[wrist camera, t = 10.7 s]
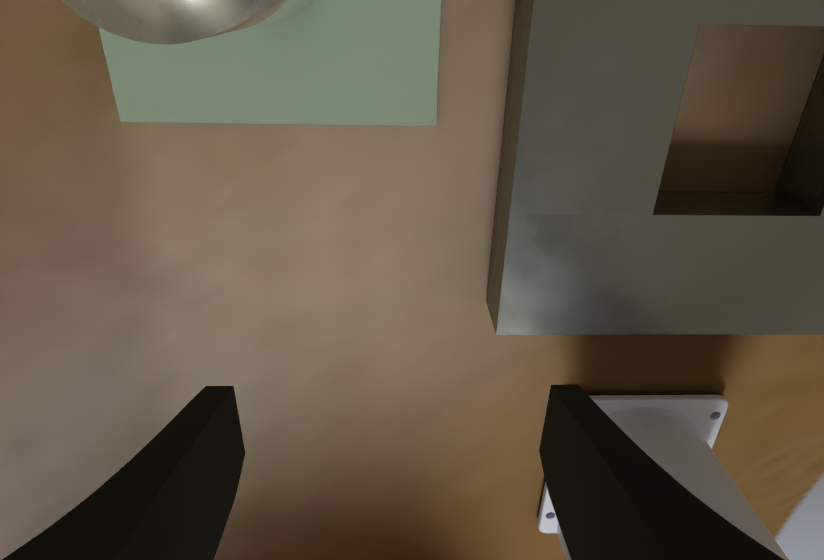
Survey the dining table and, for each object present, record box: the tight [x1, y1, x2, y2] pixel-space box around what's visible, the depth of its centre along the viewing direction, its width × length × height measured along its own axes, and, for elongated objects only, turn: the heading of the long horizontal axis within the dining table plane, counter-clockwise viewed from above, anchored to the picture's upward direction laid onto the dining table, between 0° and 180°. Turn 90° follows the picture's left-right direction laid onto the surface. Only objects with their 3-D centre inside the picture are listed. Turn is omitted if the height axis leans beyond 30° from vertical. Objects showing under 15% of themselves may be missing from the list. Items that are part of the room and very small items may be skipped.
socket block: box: [486, 0, 824, 335], centre depth 18 cm, size 16×16×2 cm
